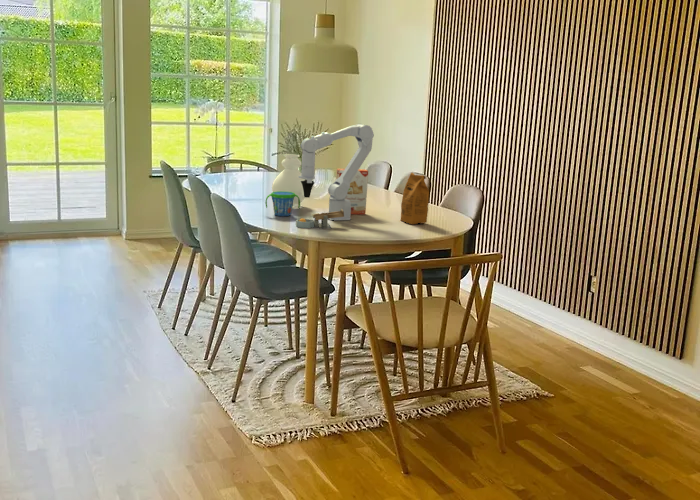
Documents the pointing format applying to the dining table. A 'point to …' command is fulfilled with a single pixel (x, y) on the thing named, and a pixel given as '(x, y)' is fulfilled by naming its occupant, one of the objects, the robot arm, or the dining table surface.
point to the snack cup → (282, 202)
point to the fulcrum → (322, 223)
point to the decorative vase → (290, 179)
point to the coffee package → (415, 200)
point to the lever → (330, 215)
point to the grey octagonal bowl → (305, 223)
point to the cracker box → (357, 191)
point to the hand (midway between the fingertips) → (306, 197)
